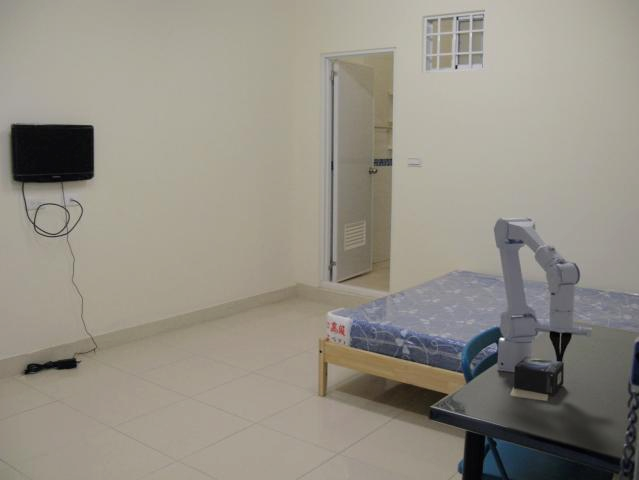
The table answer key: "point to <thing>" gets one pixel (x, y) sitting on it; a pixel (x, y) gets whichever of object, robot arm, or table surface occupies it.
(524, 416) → the table surface
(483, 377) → the table surface
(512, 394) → the mat
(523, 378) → the small box
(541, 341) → the table surface
